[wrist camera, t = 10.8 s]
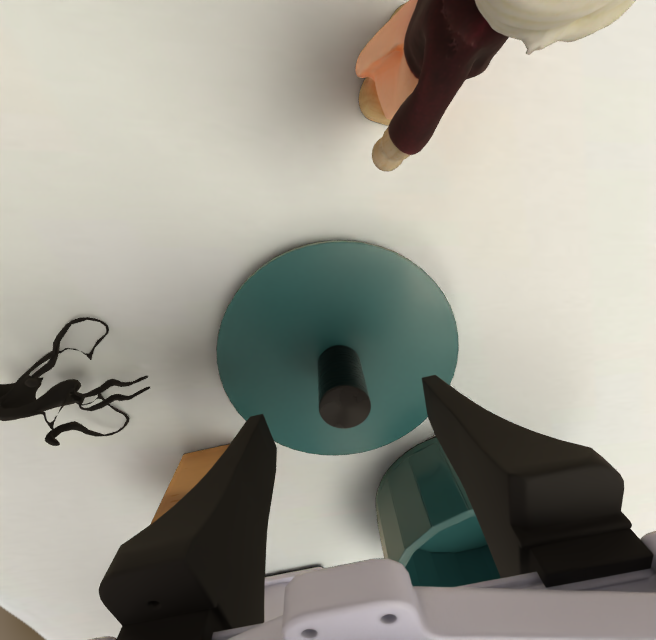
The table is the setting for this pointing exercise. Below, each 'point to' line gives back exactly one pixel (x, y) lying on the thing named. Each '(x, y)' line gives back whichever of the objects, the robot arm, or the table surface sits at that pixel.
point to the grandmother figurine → (454, 57)
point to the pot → (431, 521)
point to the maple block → (188, 476)
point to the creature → (57, 393)
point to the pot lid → (336, 346)
